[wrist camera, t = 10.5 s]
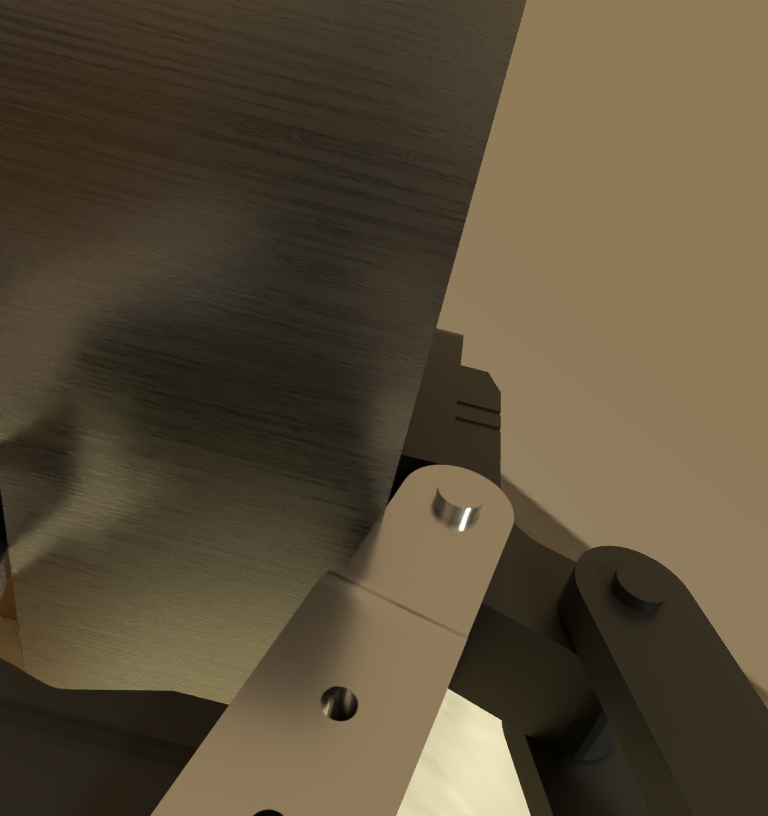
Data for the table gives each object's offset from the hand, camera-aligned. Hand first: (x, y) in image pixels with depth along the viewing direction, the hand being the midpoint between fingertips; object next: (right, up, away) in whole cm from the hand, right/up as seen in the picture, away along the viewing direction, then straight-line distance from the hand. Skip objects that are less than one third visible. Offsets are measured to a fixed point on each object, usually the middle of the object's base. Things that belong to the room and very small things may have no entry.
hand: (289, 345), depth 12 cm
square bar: (-2, -8, +2) cm, 8 cm away
